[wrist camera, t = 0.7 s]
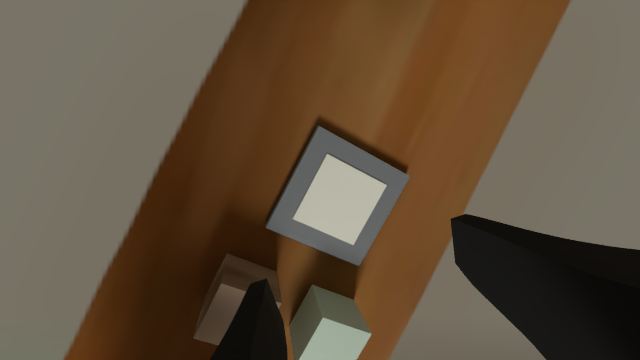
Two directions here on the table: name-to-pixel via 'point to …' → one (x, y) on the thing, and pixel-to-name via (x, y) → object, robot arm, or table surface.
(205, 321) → the walnut block
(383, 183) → the grey flat square tile
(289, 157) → the table surface
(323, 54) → the table surface
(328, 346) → the sage block
